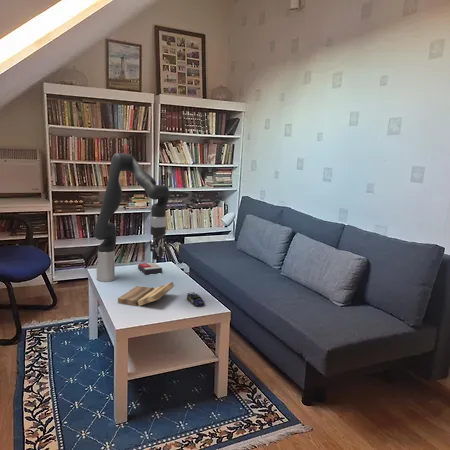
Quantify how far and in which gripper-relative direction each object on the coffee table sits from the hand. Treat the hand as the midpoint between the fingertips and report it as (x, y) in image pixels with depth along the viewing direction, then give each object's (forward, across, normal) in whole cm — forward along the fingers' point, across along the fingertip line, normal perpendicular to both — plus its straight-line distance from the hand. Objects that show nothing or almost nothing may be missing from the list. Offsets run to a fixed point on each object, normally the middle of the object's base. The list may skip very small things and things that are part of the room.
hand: (157, 257), depth 201 cm
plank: (+19, +3, +1) cm, 19 cm away
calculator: (+22, -42, -25) cm, 54 cm away
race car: (+22, -2, +21) cm, 30 cm away
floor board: (+22, +3, -10) cm, 24 cm away
